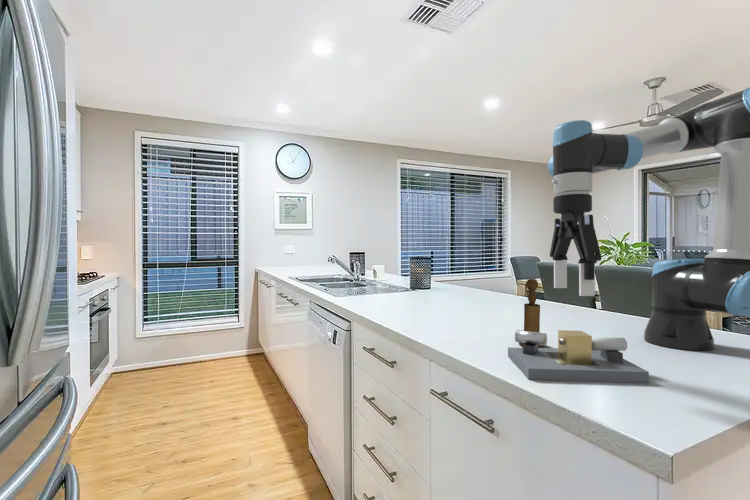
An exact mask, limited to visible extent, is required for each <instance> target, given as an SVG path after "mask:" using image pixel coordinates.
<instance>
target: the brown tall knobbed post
mask: <svg viewBox="0 0 750 500" xmlns="http://www.w3.org/2000/svg"><path fill="white" fill-rule="evenodd" d="M525 282H526V283H525V286H526V288H527V290H528V295H527V300H528V303H524V306H523V307H524V308H523V309H524V313H523V314H524V315H523V331H531V332H539V333H541V332H540V331H541V330H540V328H541V327H540V326H541V324H540V323H541V320H540V319H541V304H538V303H536V301H537V294H536V291H537V289H538V287H539V283H538V280H537V279H536V278H528V279H527V281H525ZM523 344H525V343H521V342H518V345H519V346H521V347H523ZM538 348H546V346H542V345H538Z"/></svg>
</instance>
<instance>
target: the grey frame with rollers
mask: <svg viewBox="0 0 750 500" xmlns="http://www.w3.org/2000/svg"><path fill="white" fill-rule="evenodd" d="M626 350H628V341H627V339H626V338H625V337H615V336H613V337H610V336H607V337H606V336H602V337H601V336H592V357H591V365H562V364H561V363H560V362H559V361H558V348H554V347H552V348H546V347H544V348H538V352H537V353H536V354H535V355H529V354H523V347H509V346H508V347H507V358H509V359H510V361H511V362H512V364H514V365H515V366H516V367H517V369H519V371H520V370H521V371H520V372H521V373H522V374H523V375H524V376H525V377H526V378H527V380H538V381H539V380H541V381H571V382H573V381H575V382H598V383H599V382H605V383H636V384H637V383H639V384H649V382H650V378H649V377H650V376H649V374H650V372H649V371H648V370H646V369H644V368H642V367H640V366H639V365H637V364H635V363H633V362H630V361H629V360H628V359H625V358H624V353H623V352H625V351H626ZM622 351H623V352H622Z"/></svg>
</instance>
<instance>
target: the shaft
mask: <svg viewBox="0 0 750 500" xmlns="http://www.w3.org/2000/svg"><path fill="white" fill-rule="evenodd" d="M514 341H515V343H519V342H521V343H525V344H523V346H522V348H523V354H529V355H535V354H536V353H537V352H538V345H542V346H545V347H546V346H547V345H548V344H547V343H548V335H547V333H546V332H540V333H539V332H531V331H524V329H523V330H521V329H515V332H514Z"/></svg>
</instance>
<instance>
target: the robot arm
mask: <svg viewBox="0 0 750 500" xmlns="http://www.w3.org/2000/svg"><path fill="white" fill-rule="evenodd" d="M552 137H553V138H552V146H551V147H552V156H551V157H550V159H549V161H548V163H547V169H548V170H547V171H548V173H549V175H550V176H551V178H553V179H552V180H551V184H552V185H553V194H554V195H556V196H554V197H553V198H552V199H553V200H552V201H553V204H552V205H553V210H552V211H553V213H554V214H557V215H558V214H560V215H561V217H560V218H555V219H554V229H553V234H552V239H551V240H552V241H551V245H550V251H549V257H550V258H552V260H553V288H554V289H567V288H568V260H569V259H568V256H567V254H568V251H569V248H570V246H571V242H572V240H573V242H574V245H575V248H576V250H577V254H578V256H579V259H578V262H577V263H578V275H579V276H578V279H579V281H578V292H579V294H578V296H580V297H596V296H595V295H596V271H595V270H596V264H597V262H598V261H599V262H600V261H601V260H602V254H601V250H600V246H599V242H598V237H597V234H596V229H595V225H594V216H593V214H585V213H590V212H592V210H593V196H592V195H591V194H590V193H592V192H593V174H598V173H601V172H606V171H609V170H617V171H620V170H630V169H632V168H635V167H636V166H637V165H638V164H639V163H640V161H641V160H642V159H645V158H646V159H647V158H649V157H653V156H658V155H661V154H667V155H673V154H677V153H681V152H682V153H683V152H687V151H688V152H689V151H693V150H699V149H700V150H701V149H709V148H713V150H714V151H716V152H717V153H718V154H720V164H719V165H720V166H719V177H718V178H719V179H718V189H717V199H716V200H717V203H716V213H715V225H714V226H715V227H714V236H713V237H714V238H713V250H712V251H710V252H709V253H708V254H706V255H705V256H704V258H682V259H671V260H667V259H666V260H660V261H657V262H655V263H654V265H653V266H652V273H651V306H652V307H651V314H650V317H649V319H648V322H647V323H646V327H645V329H644V334H643V336H644V337H643V339H644V341H645V342H647V343H651V344H652V345H656V346H661V347H667V348H673V349H678V350H679V349H680V350H689V351H710V350H711V351H712V350H713V349H714V348H715V339H714V337H713V334H712V331H711V328H710V326H709V323H708V320H707V319H706V318H707V317H706V316H707V314H706V311H710V312H715V313H716V312H718V313H723V314H729V315H732V316H736V317H737V316H738V317H742V316H743V317H750V87H747V88H745V89H743V90H741V91H737V92H735V93H731V94H729V95H726V96H723V97H720V98H717V99H715V100H711V101H709V102H705V103H703V104H700V105H699V106H696V107H694V108H691V109H690V110H686V111H685V112H683V113H680V114H677V115H675V116H672V117H668V118H665V119H663V120H661V122H659V123H658V124H657V125H653V126H649V127H647V128H646V127H645V128H641V129H638V130H635V131H631V132H627V133H621V134H617V133H615V134H613V133H597V132H593V127H592V123H591V122H590V121H588V120H583V119H582V120H581V119H578V120H576V119H575V120H570V121H566V122H563V123H561V124H558V125H556V127H555V128H554V130H553V136H552Z"/></svg>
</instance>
